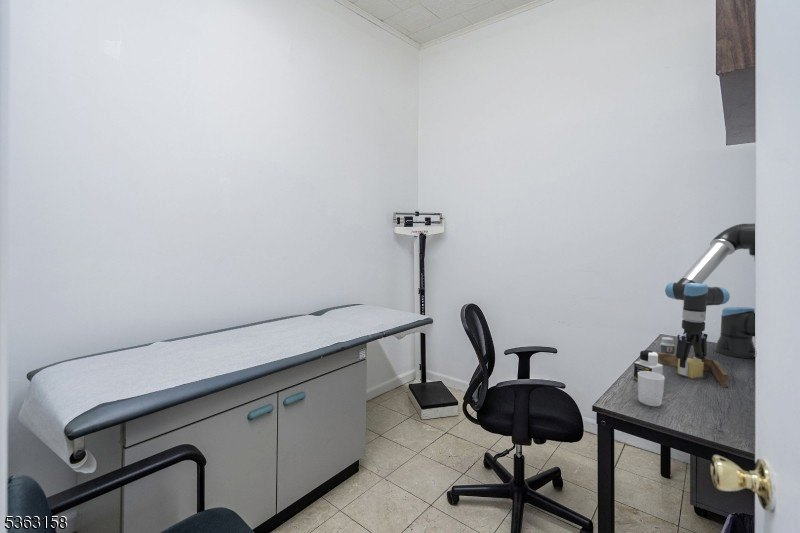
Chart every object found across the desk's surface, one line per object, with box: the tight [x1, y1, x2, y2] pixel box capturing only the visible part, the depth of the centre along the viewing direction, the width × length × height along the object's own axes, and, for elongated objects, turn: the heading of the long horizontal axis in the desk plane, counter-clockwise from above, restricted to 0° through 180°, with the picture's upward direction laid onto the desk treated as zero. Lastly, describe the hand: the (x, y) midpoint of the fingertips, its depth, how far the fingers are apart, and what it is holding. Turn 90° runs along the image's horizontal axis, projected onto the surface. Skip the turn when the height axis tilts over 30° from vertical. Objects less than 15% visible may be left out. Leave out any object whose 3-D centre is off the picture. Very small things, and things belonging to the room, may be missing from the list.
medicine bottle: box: [633, 349, 664, 381], centre depth 148 cm, size 7×7×12 cm
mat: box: [674, 371, 706, 380], centre depth 154 cm, size 10×10×1 cm
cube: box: [676, 358, 704, 379], centre depth 154 cm, size 6×6×6 cm
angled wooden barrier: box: [655, 351, 729, 388], centre depth 155 cm, size 22×20×5 cm
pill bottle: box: [659, 336, 676, 355], centre depth 174 cm, size 6×6×10 cm
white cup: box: [637, 371, 666, 407], centre depth 129 cm, size 8×8×10 cm
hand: (689, 373), depth 154 cm, fingers open, 6 cm apart
